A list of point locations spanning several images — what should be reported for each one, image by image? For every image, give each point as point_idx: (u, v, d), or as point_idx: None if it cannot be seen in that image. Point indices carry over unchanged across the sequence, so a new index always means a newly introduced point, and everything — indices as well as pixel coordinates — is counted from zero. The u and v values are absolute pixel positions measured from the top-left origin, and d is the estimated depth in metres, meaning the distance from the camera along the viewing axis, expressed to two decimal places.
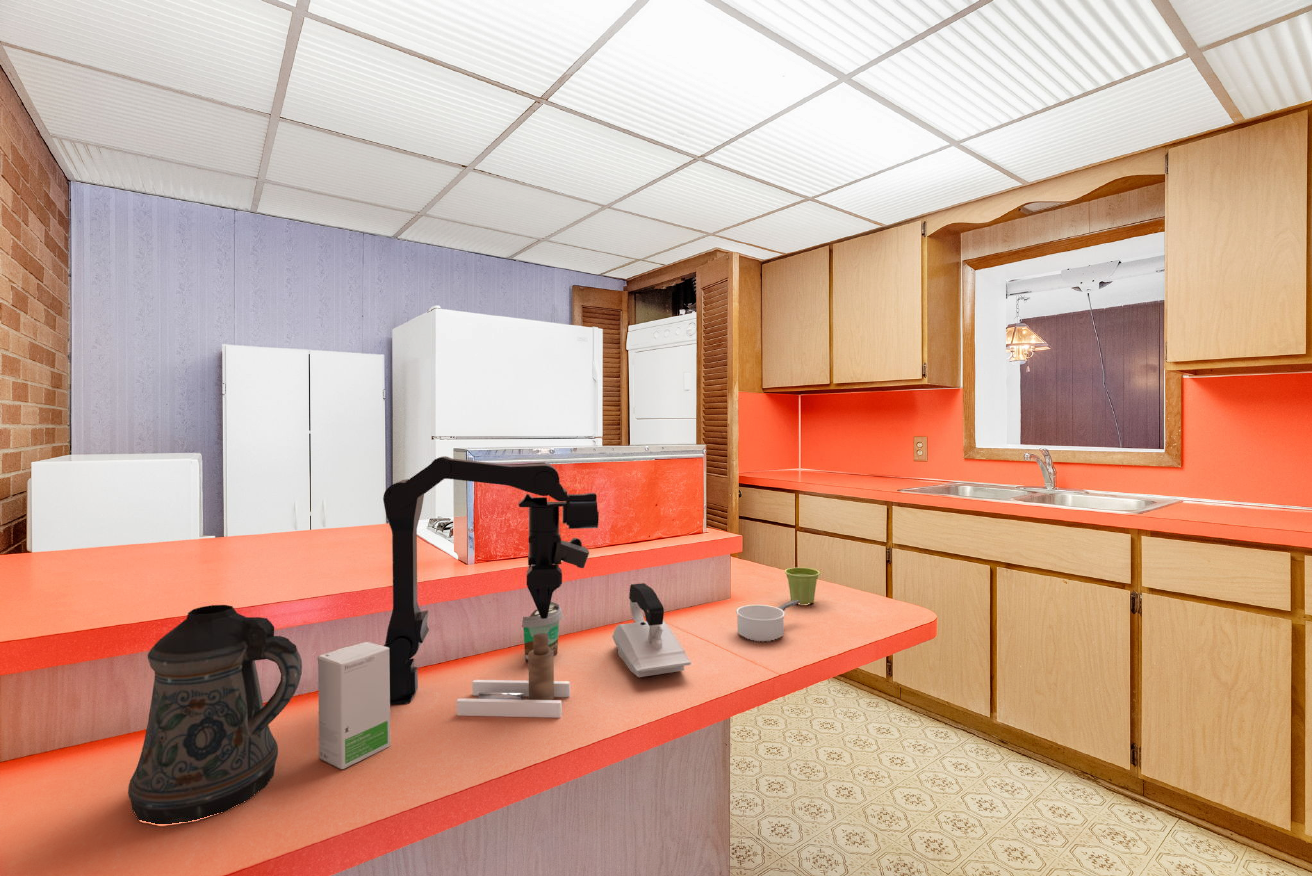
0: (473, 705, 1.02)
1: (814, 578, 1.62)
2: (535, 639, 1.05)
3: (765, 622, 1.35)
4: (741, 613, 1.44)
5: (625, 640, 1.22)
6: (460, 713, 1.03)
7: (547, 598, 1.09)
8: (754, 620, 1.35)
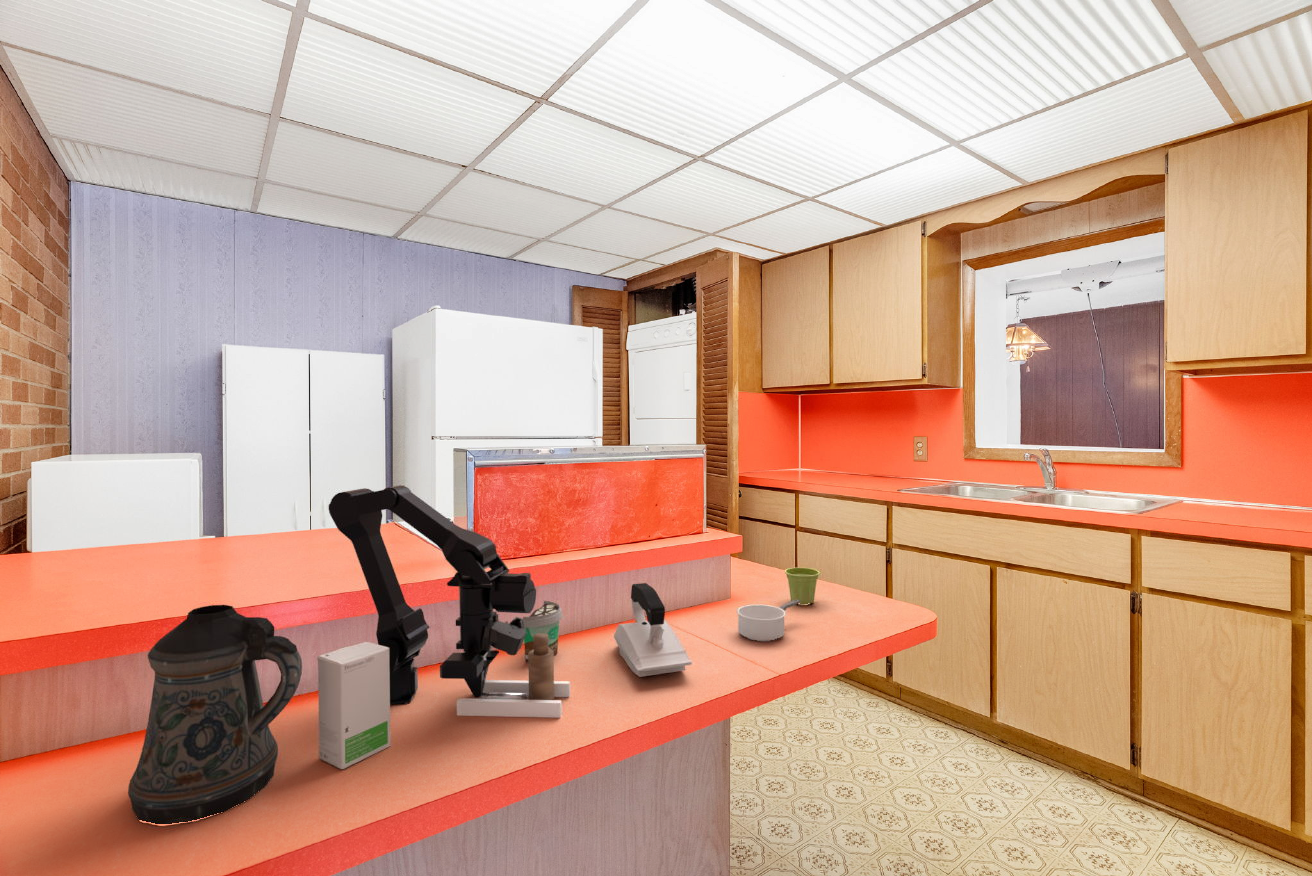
0: (473, 705, 1.02)
1: (814, 578, 1.62)
2: (535, 639, 1.05)
3: (766, 622, 1.35)
4: (742, 612, 1.44)
5: (626, 640, 1.23)
6: (460, 713, 1.03)
7: (478, 677, 1.05)
8: (755, 620, 1.35)
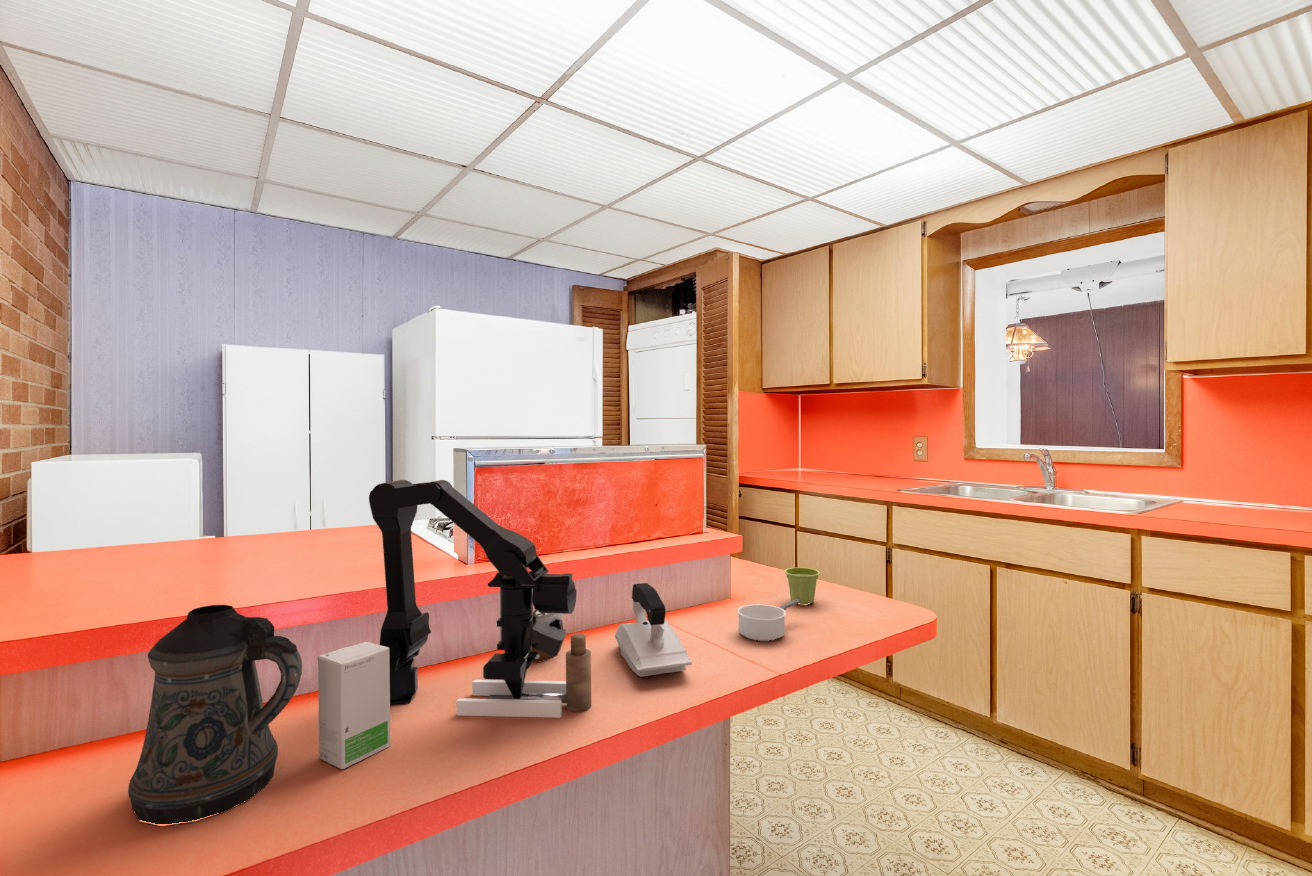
0: (473, 705, 1.02)
1: (814, 578, 1.62)
2: (573, 639, 1.04)
3: (766, 622, 1.35)
4: (742, 612, 1.44)
5: (627, 640, 1.23)
6: (460, 713, 1.03)
7: (518, 678, 1.05)
8: (755, 620, 1.35)
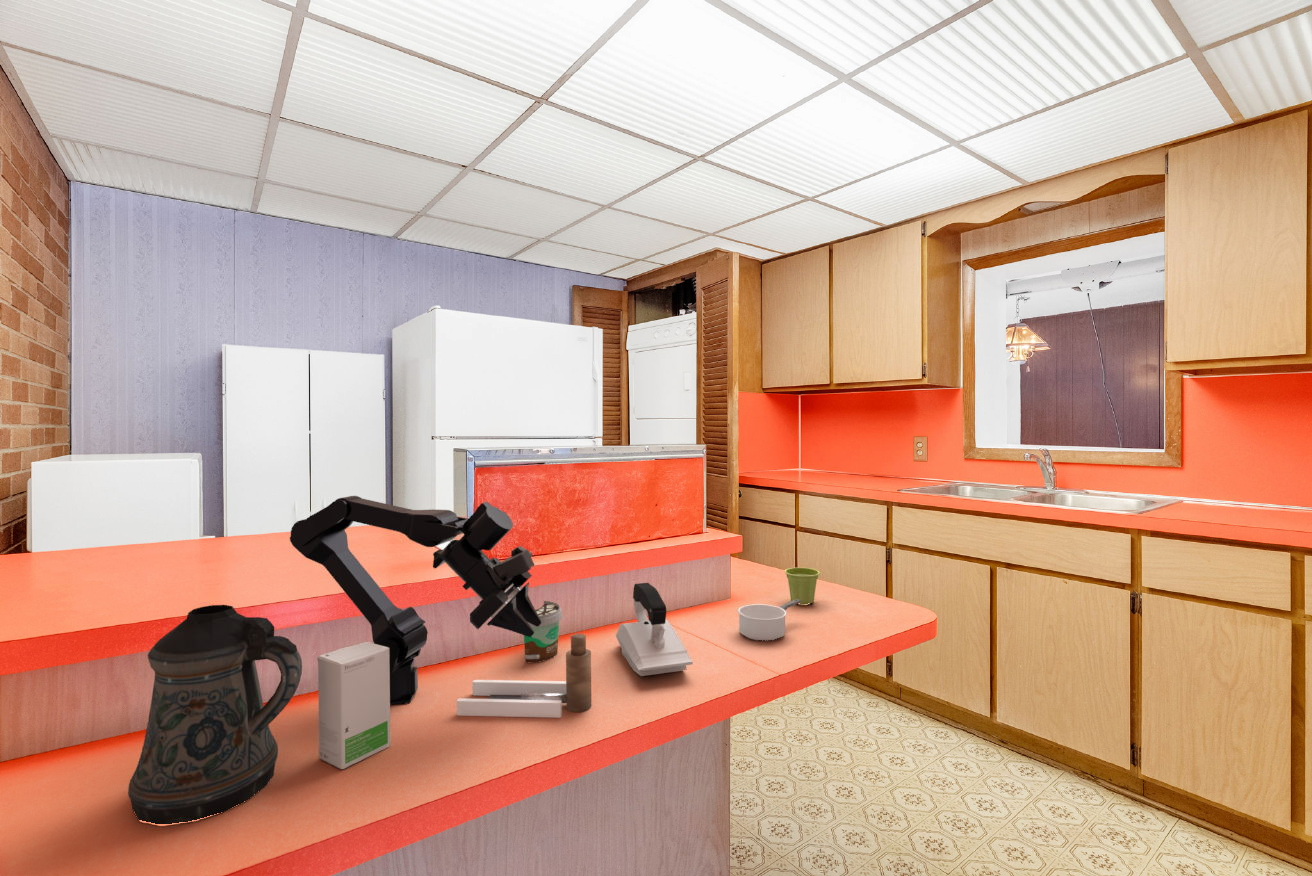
0: (473, 705, 1.02)
1: (814, 578, 1.62)
2: (573, 639, 1.04)
3: (767, 621, 1.35)
4: (743, 612, 1.44)
5: (628, 639, 1.23)
6: (460, 713, 1.03)
7: (516, 618, 1.02)
8: (756, 619, 1.36)
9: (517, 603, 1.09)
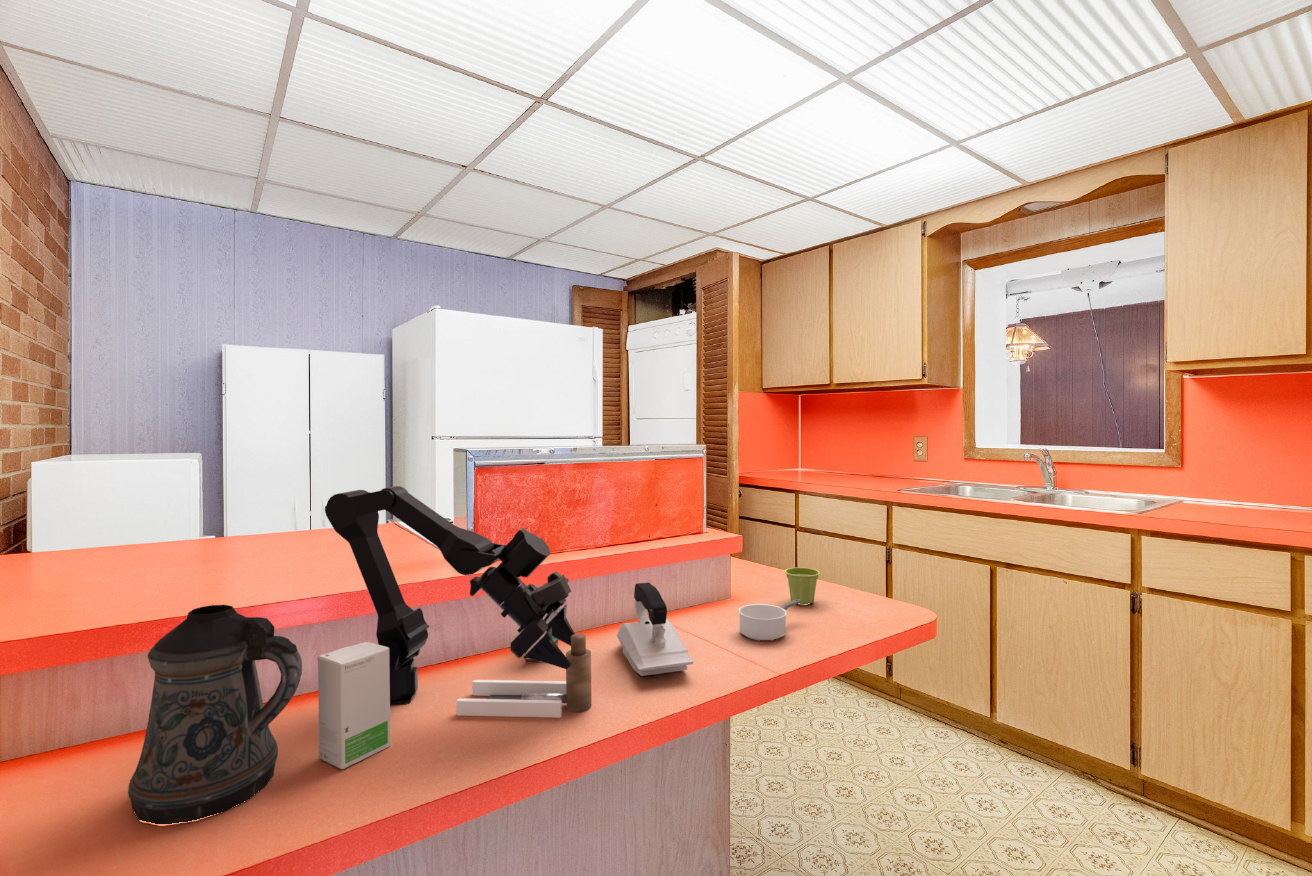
0: (473, 705, 1.02)
1: (814, 578, 1.62)
2: (573, 640, 1.04)
3: (767, 621, 1.35)
4: (743, 612, 1.44)
5: (629, 639, 1.23)
6: (460, 713, 1.03)
7: (552, 650, 1.00)
8: (756, 619, 1.36)
9: (556, 625, 1.11)
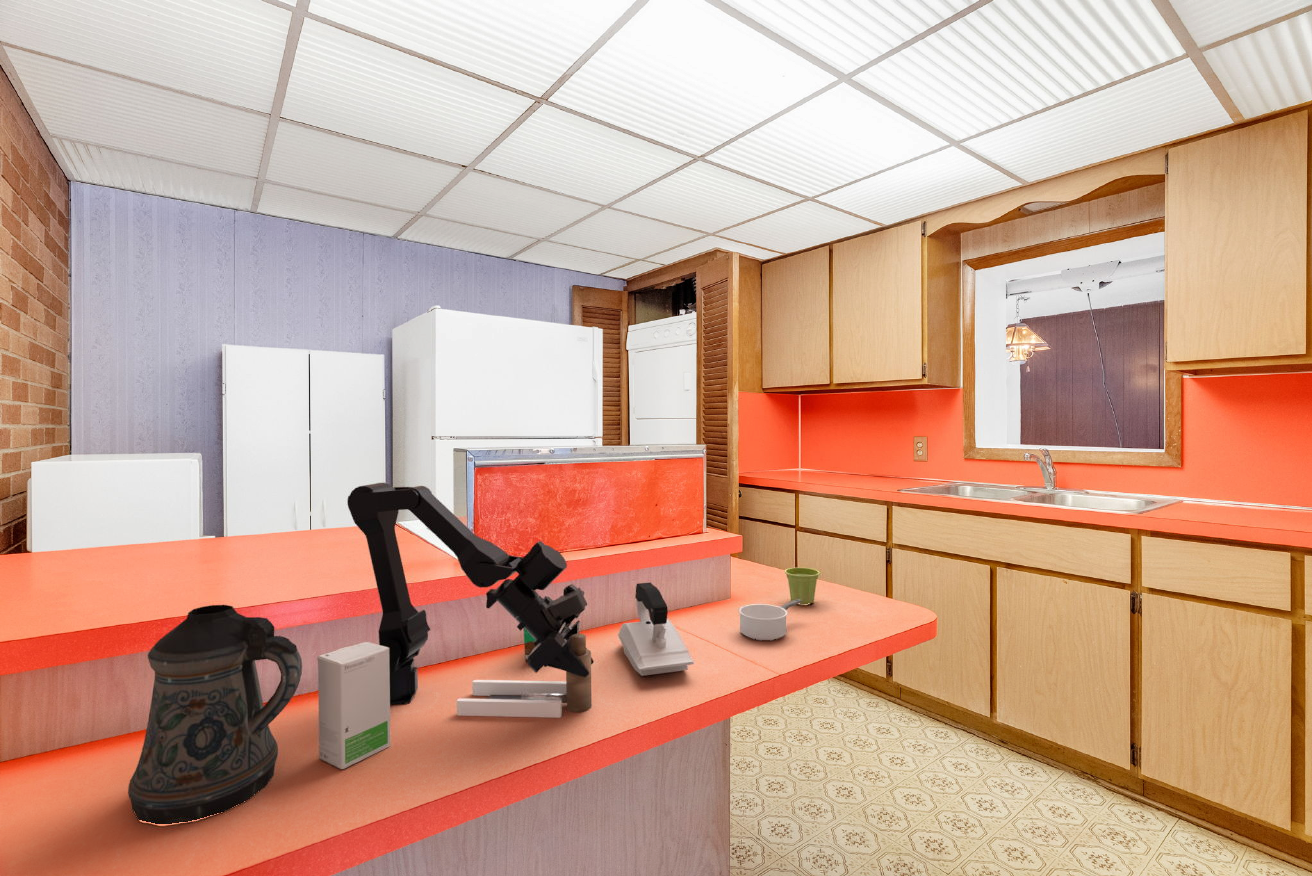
0: (473, 705, 1.02)
1: (814, 578, 1.62)
2: (573, 639, 1.04)
3: (768, 621, 1.35)
4: (744, 612, 1.44)
5: (630, 639, 1.23)
6: (460, 713, 1.03)
7: (572, 659, 1.02)
8: (757, 619, 1.36)
9: None
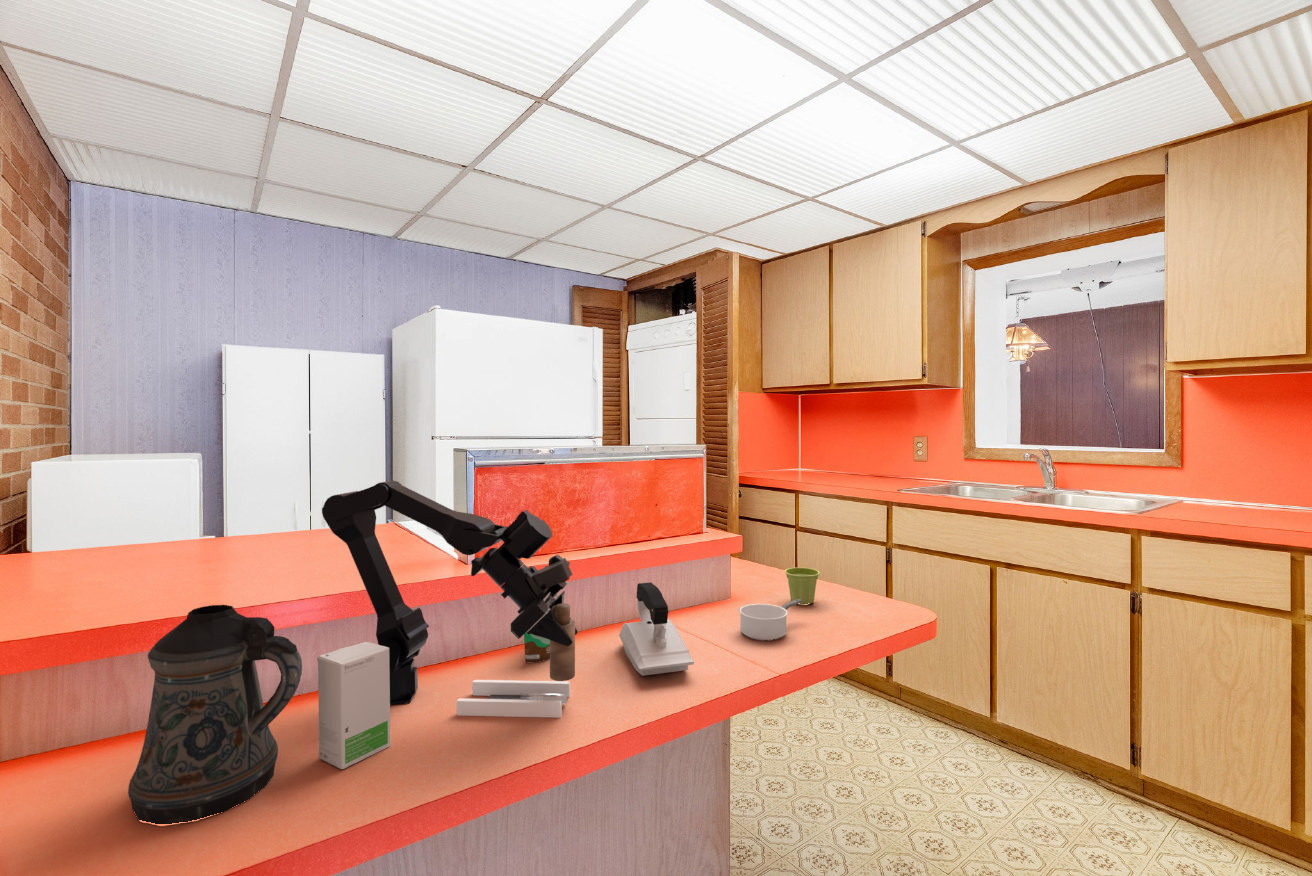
0: (473, 705, 1.02)
1: (814, 578, 1.62)
2: (557, 609, 1.04)
3: (768, 621, 1.36)
4: (744, 612, 1.45)
5: (630, 639, 1.23)
6: (460, 713, 1.03)
7: (555, 627, 1.02)
8: (757, 619, 1.36)
9: None
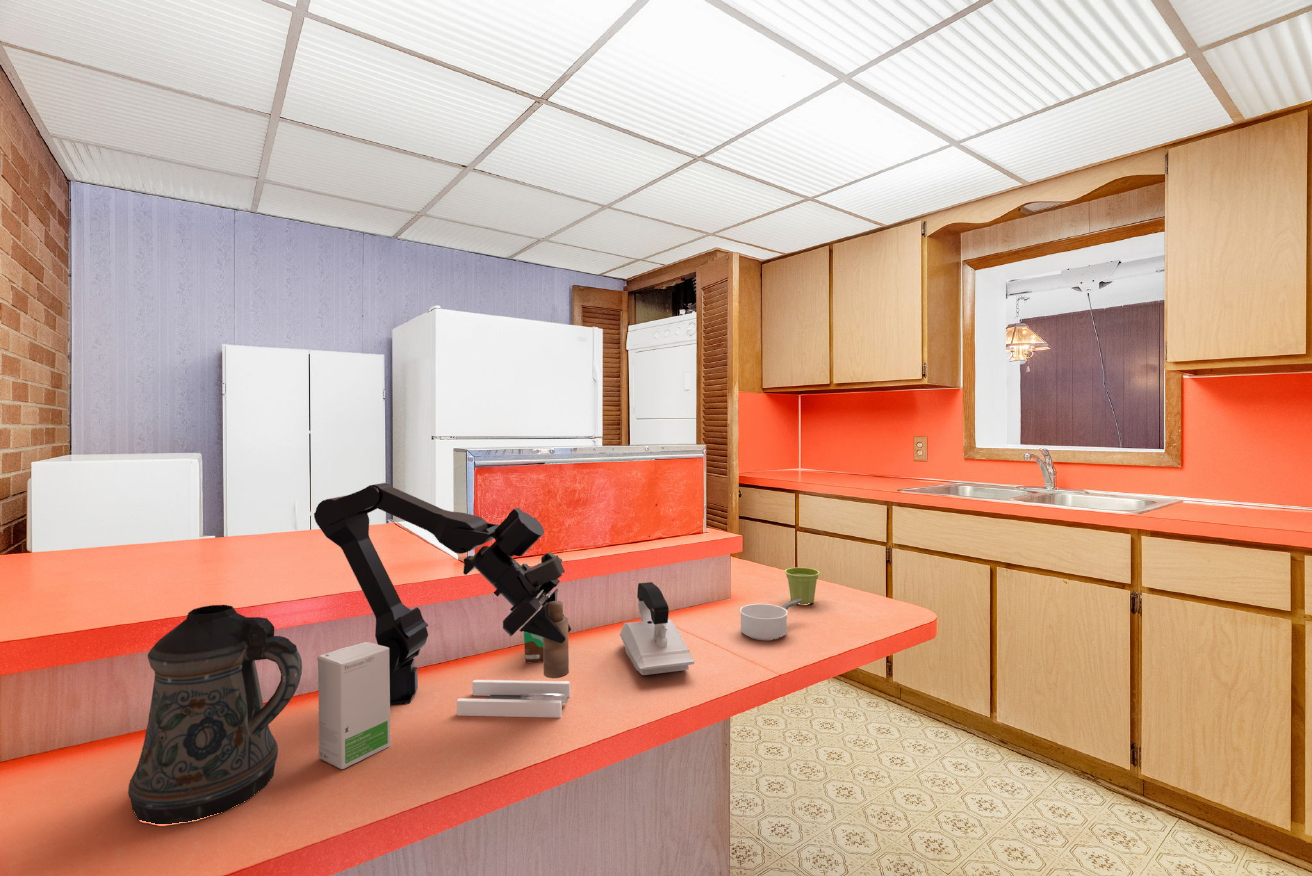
0: (473, 705, 1.02)
1: (814, 578, 1.62)
2: (550, 606, 1.04)
3: (768, 621, 1.36)
4: (744, 612, 1.45)
5: (631, 638, 1.24)
6: (460, 713, 1.03)
7: (548, 624, 1.02)
8: (757, 619, 1.36)
9: None
